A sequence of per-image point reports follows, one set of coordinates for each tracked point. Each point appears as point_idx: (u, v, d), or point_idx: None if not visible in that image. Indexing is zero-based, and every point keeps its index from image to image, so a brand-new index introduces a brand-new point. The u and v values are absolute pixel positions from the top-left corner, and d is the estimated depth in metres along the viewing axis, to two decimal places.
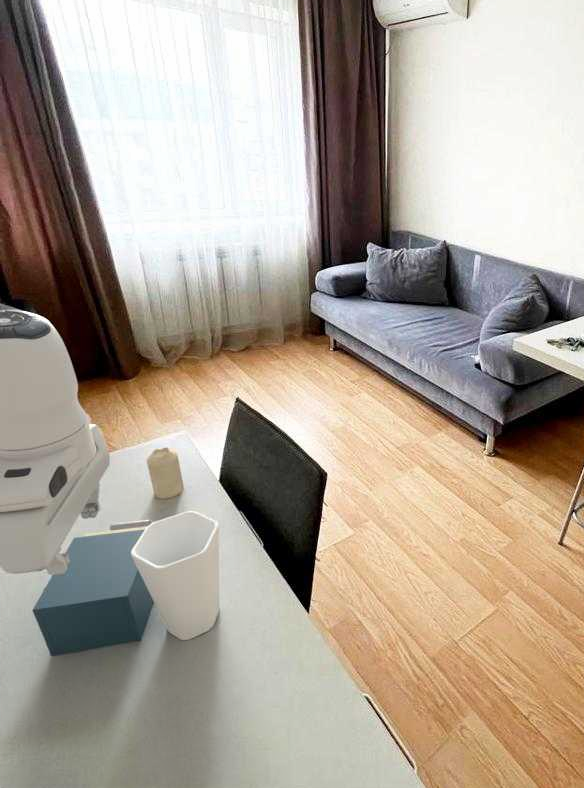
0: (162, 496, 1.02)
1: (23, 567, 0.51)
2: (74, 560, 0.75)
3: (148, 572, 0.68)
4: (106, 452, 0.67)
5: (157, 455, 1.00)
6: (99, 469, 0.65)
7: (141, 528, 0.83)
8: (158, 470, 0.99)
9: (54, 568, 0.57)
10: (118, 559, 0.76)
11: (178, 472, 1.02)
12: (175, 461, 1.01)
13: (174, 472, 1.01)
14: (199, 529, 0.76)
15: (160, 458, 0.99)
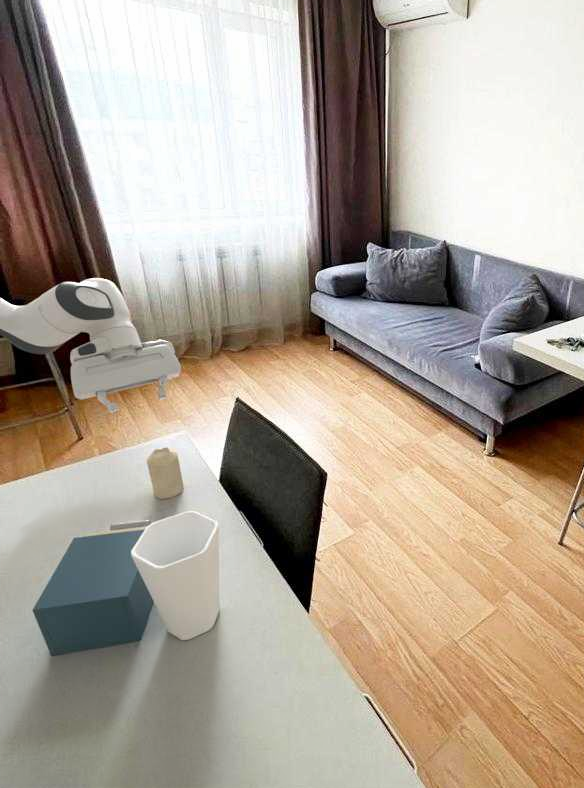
0: (162, 496, 1.02)
1: None
2: (74, 560, 0.75)
3: (148, 572, 0.68)
4: (173, 362, 1.11)
5: (157, 455, 1.00)
6: (160, 368, 1.09)
7: (141, 528, 0.83)
8: (158, 470, 0.99)
9: (108, 408, 1.03)
10: (118, 559, 0.76)
11: (178, 472, 1.02)
12: (175, 461, 1.01)
13: (174, 472, 1.01)
14: (199, 529, 0.76)
15: (160, 458, 0.99)
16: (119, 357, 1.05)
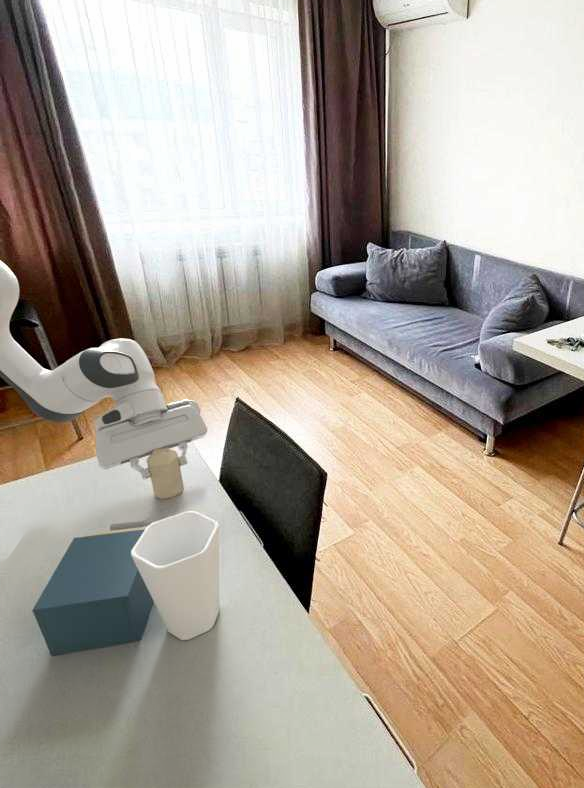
0: (162, 496, 1.02)
1: (98, 462, 0.96)
2: (74, 560, 0.75)
3: (148, 572, 0.68)
4: (199, 423, 1.07)
5: (157, 455, 1.00)
6: (186, 431, 1.05)
7: (141, 528, 0.83)
8: (158, 470, 0.99)
9: (141, 474, 0.99)
10: (118, 559, 0.76)
11: (178, 472, 1.02)
12: (175, 461, 1.01)
13: (174, 472, 1.01)
14: (199, 529, 0.76)
15: (160, 458, 0.99)
16: (144, 422, 1.01)
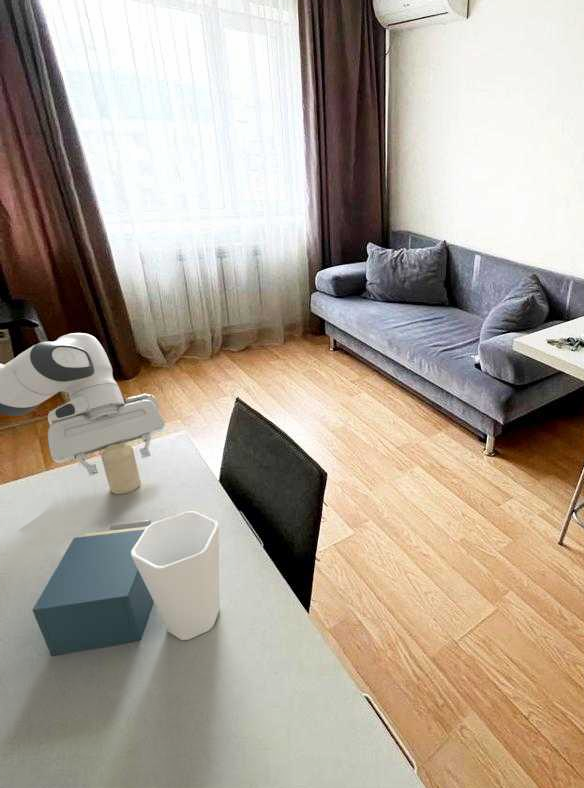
0: (118, 491, 1.02)
1: None
2: (74, 560, 0.75)
3: (148, 572, 0.68)
4: (157, 418, 1.07)
5: (112, 450, 1.01)
6: (143, 425, 1.05)
7: (141, 528, 0.83)
8: (112, 466, 0.99)
9: None
10: (118, 559, 0.76)
11: (134, 468, 1.03)
12: (130, 456, 1.01)
13: (130, 467, 1.02)
14: (199, 529, 0.76)
15: (114, 453, 0.99)
16: (99, 416, 1.01)
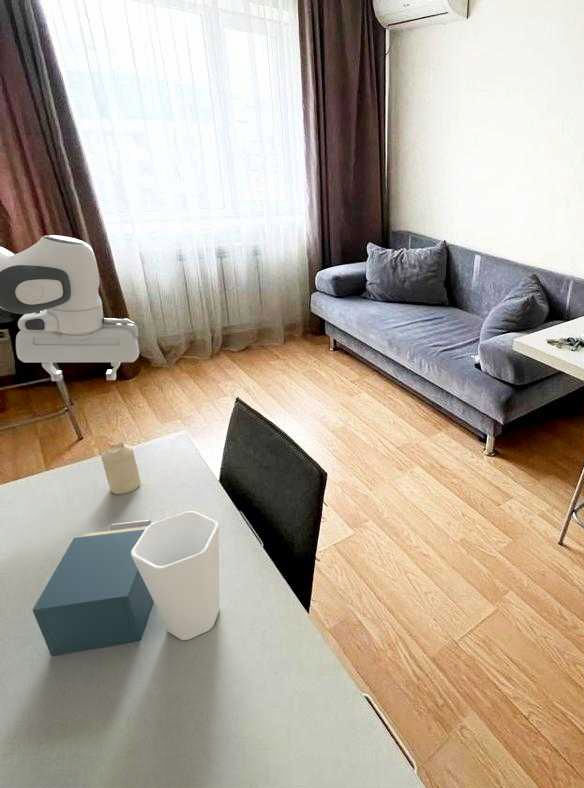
0: (118, 491, 1.02)
1: None
2: (74, 560, 0.75)
3: (148, 572, 0.68)
4: (129, 352, 1.03)
5: (112, 450, 1.01)
6: (113, 355, 1.02)
7: (141, 528, 0.83)
8: (112, 466, 0.99)
9: None
10: (118, 559, 0.76)
11: (134, 468, 1.03)
12: (130, 456, 1.01)
13: (130, 467, 1.02)
14: (199, 529, 0.76)
15: (114, 453, 0.99)
16: None
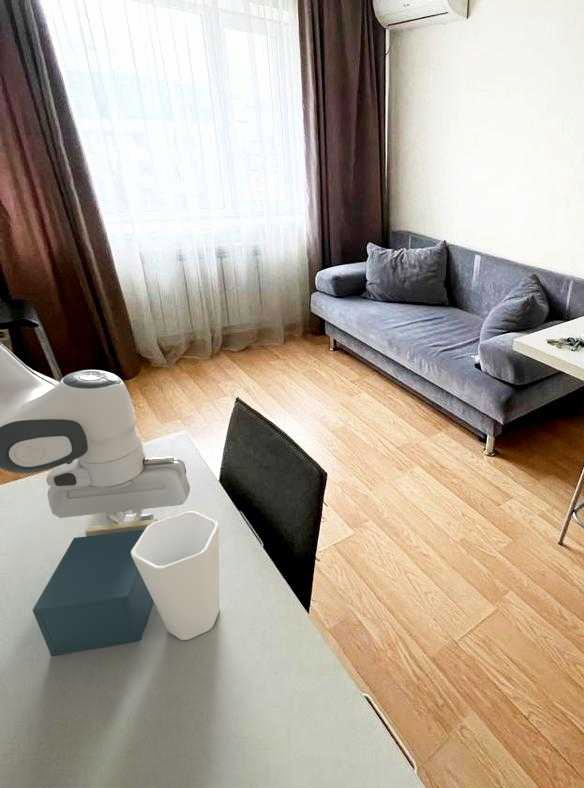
0: None
1: None
2: (74, 560, 0.75)
3: (148, 572, 0.68)
4: (176, 495, 0.85)
5: None
6: (158, 500, 0.84)
7: (144, 521, 0.84)
8: None
9: None
10: (118, 559, 0.76)
11: None
12: None
13: None
14: (199, 529, 0.76)
15: None
16: None
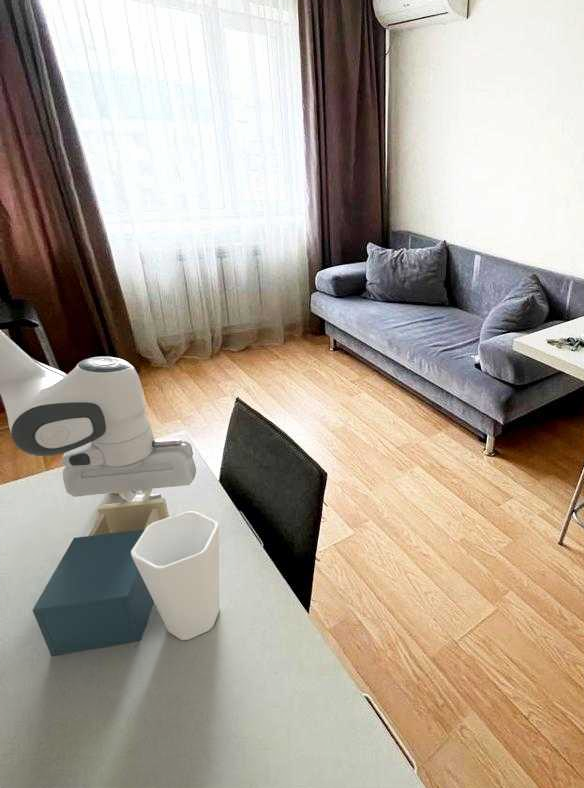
0: None
1: None
2: (74, 560, 0.75)
3: (148, 572, 0.68)
4: (184, 475, 0.90)
5: None
6: (167, 480, 0.89)
7: (153, 500, 0.89)
8: None
9: None
10: (118, 559, 0.76)
11: None
12: None
13: None
14: (199, 529, 0.76)
15: None
16: None
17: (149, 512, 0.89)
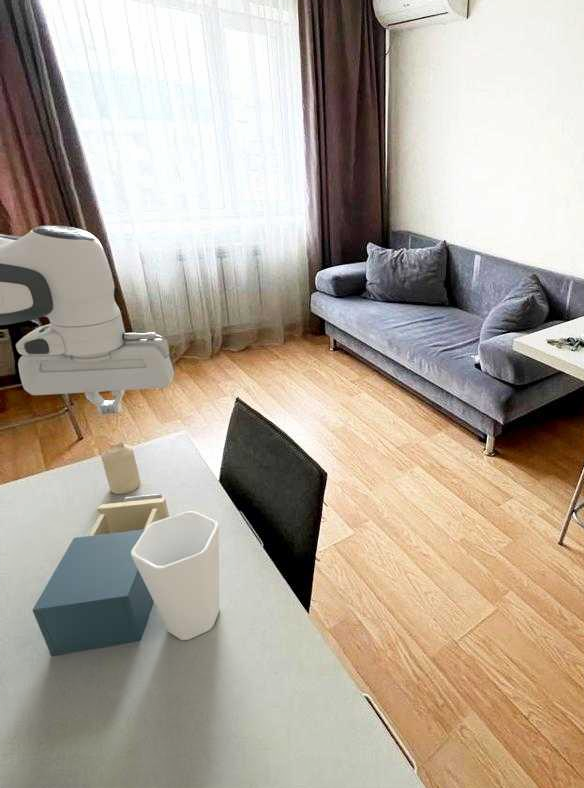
0: (118, 491, 1.02)
1: None
2: (74, 560, 0.75)
3: (148, 572, 0.68)
4: (159, 375, 0.79)
5: (112, 450, 1.01)
6: (140, 380, 0.79)
7: (153, 500, 0.89)
8: (112, 466, 0.99)
9: None
10: (118, 559, 0.76)
11: (134, 468, 1.03)
12: (130, 456, 1.01)
13: (130, 467, 1.02)
14: (199, 529, 0.76)
15: (114, 453, 0.99)
16: None
17: (149, 512, 0.89)
